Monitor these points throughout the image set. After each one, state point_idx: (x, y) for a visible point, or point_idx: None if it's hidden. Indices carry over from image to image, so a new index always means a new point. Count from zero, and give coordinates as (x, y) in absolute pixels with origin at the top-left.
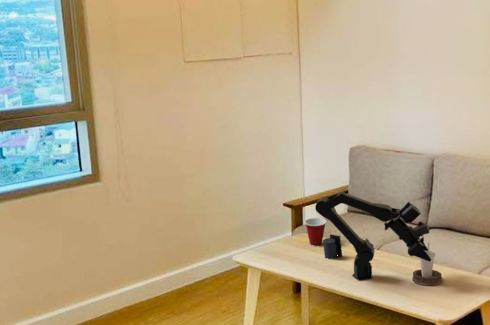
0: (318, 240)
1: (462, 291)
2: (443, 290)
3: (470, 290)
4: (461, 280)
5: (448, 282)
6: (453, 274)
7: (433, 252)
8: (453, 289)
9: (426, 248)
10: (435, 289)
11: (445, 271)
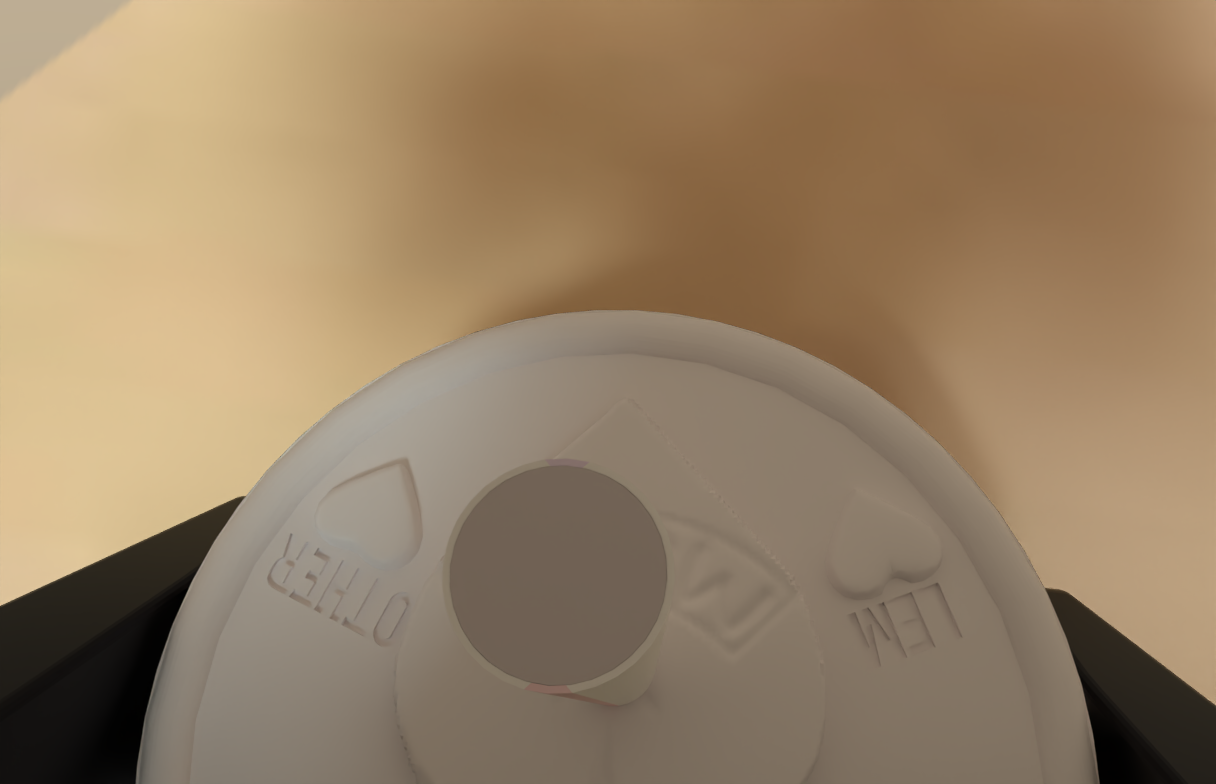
0: None
1: (1146, 134)
2: (1169, 448)
3: (1067, 13)
4: (579, 77)
5: (698, 299)
6: (259, 160)
7: (476, 368)
8: (1073, 263)
9: (16, 717)
10: (1146, 600)
11: (79, 272)
